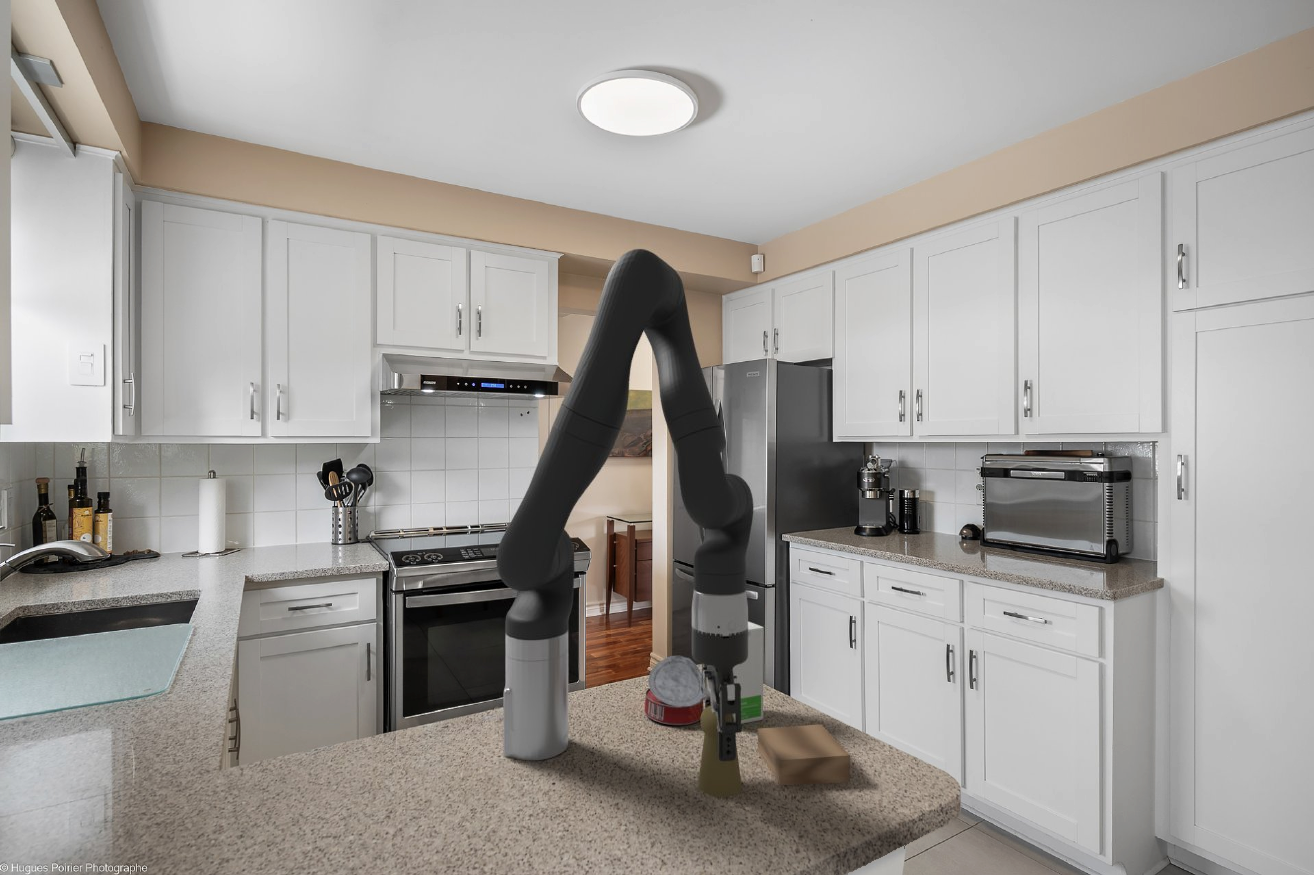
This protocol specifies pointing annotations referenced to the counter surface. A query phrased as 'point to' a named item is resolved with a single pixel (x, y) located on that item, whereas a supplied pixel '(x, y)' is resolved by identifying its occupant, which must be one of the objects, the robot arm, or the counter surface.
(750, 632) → the skincare box
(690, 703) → the canned food
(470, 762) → the counter surface
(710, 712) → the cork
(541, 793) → the counter surface
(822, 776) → the walnut block
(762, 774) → the counter surface
